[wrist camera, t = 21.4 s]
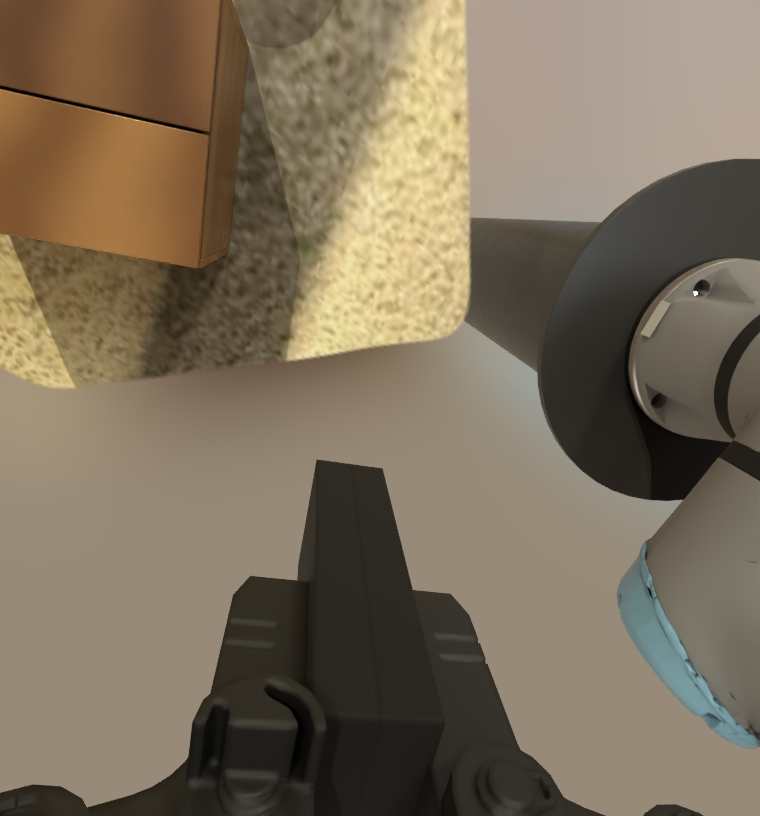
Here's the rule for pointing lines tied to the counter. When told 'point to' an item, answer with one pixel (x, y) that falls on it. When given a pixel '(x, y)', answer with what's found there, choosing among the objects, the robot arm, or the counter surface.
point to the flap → (100, 180)
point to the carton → (140, 75)
